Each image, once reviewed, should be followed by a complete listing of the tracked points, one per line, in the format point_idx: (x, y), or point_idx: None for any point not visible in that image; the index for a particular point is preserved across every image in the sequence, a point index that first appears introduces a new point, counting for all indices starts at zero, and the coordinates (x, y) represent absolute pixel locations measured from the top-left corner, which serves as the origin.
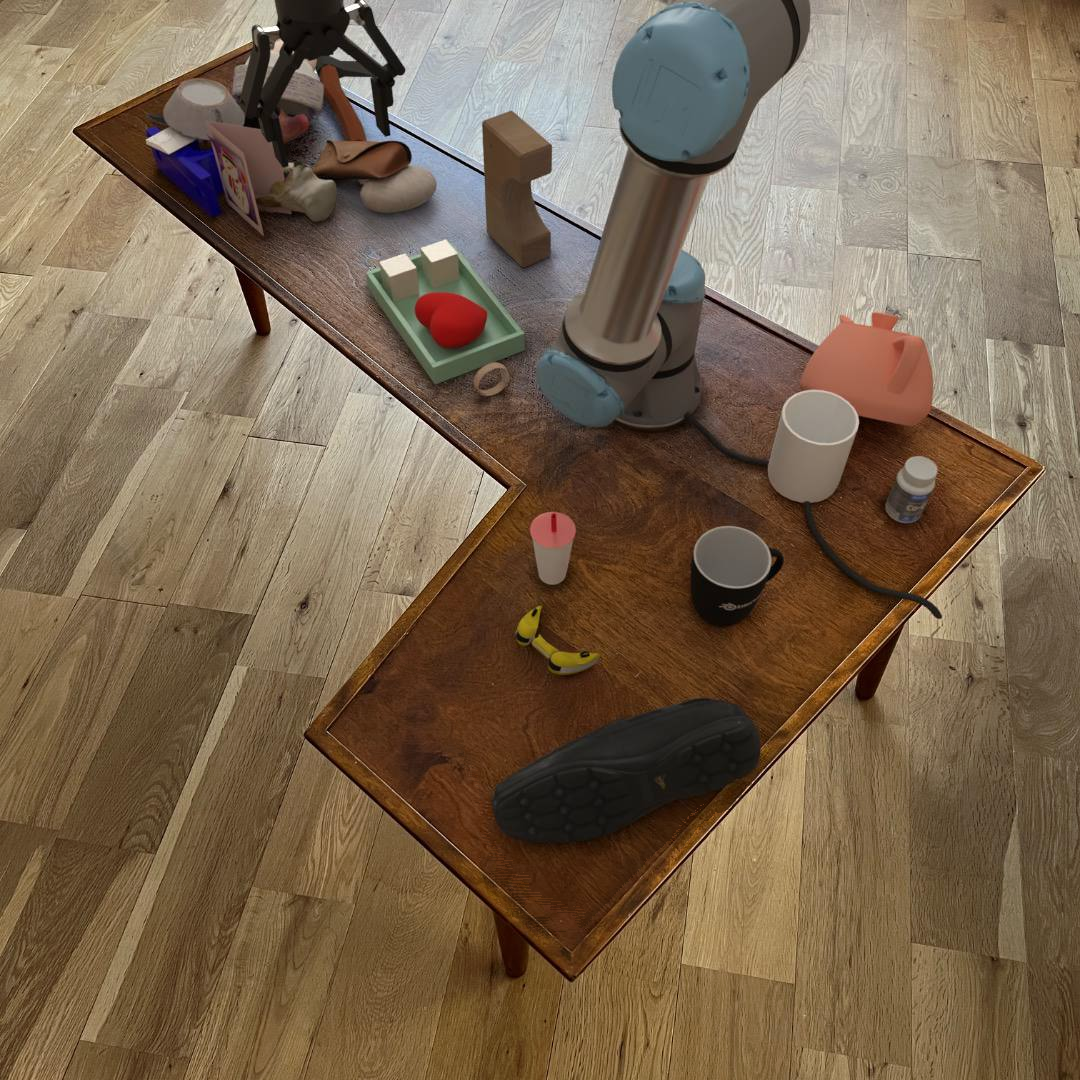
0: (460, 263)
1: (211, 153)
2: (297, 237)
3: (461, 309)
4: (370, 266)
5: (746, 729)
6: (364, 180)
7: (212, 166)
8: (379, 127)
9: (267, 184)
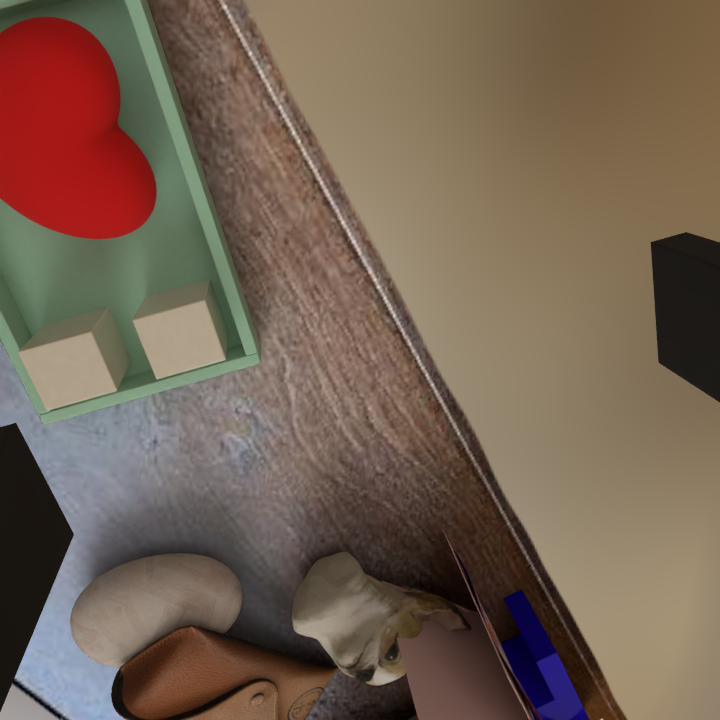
0: None
1: None
2: (380, 519)
3: (12, 111)
4: (247, 414)
5: None
6: None
7: None
8: (46, 504)
9: (428, 636)
